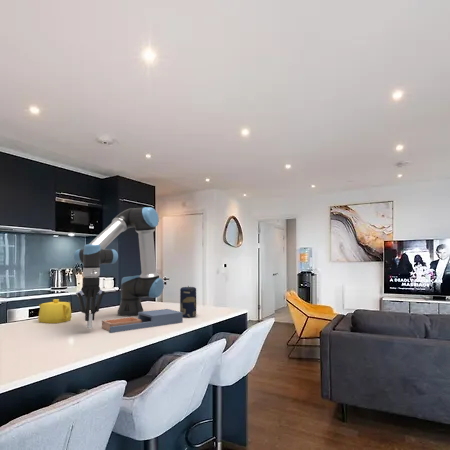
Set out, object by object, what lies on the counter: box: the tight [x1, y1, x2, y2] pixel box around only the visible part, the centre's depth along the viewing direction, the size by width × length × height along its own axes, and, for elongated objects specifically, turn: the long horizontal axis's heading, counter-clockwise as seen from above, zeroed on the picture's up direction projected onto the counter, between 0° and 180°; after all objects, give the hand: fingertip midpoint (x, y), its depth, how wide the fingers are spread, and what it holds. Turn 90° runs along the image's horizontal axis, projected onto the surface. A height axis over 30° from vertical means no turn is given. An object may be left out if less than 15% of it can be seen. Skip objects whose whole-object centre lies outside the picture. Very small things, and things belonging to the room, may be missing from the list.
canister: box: [179, 285, 197, 318], centre depth 205 cm, size 10×10×18 cm
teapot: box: [38, 298, 72, 325], centre depth 190 cm, size 20×12×12 cm, turn 70°
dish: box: [101, 316, 142, 332], centre depth 173 cm, size 11×16×4 cm
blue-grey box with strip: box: [108, 308, 184, 334], centre depth 179 cm, size 16×40×5 cm, turn 130°
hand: (89, 327), depth 162 cm, fingers closed
